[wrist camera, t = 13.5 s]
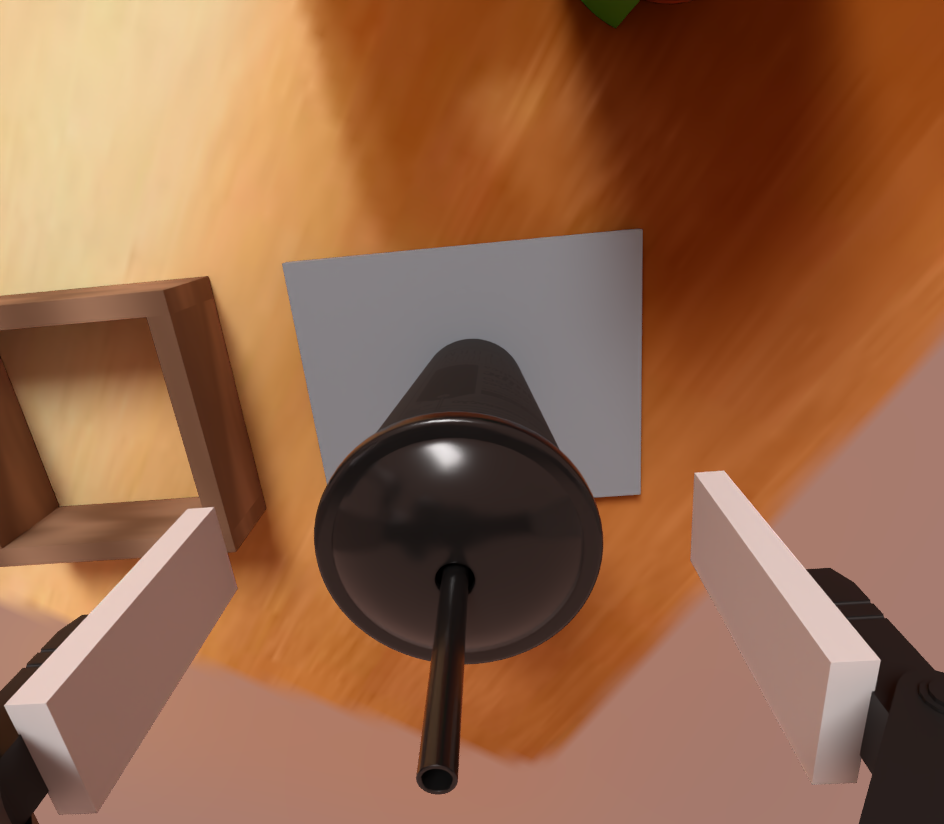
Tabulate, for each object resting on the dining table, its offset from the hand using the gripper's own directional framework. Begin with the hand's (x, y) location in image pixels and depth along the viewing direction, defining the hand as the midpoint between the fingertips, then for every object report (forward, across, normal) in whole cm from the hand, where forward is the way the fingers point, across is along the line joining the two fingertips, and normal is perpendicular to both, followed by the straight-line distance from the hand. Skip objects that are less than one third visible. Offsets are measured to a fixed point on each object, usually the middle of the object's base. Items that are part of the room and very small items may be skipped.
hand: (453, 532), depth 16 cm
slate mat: (+14, 0, 0) cm, 14 cm away
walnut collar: (+14, -18, 0) cm, 22 cm away
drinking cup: (+13, 0, 0) cm, 13 cm away
